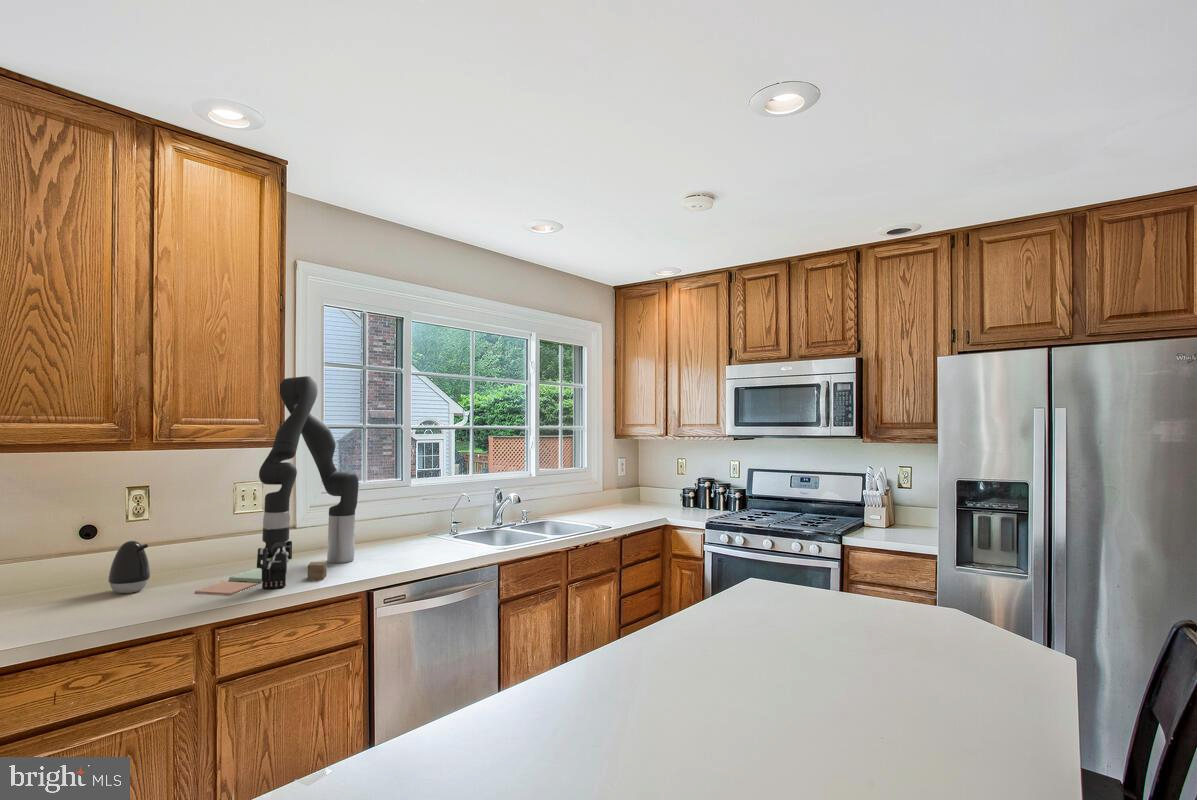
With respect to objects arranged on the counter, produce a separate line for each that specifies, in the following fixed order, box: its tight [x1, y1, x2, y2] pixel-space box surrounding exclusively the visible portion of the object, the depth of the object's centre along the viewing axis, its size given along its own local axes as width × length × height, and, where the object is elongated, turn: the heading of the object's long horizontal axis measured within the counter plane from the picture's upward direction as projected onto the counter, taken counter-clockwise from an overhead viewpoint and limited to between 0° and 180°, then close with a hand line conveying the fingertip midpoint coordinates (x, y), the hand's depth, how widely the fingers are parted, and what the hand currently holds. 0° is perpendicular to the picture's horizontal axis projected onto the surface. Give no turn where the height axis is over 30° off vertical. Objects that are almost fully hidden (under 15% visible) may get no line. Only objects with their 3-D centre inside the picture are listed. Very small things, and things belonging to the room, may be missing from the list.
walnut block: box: [306, 561, 328, 581], centre depth 214 cm, size 5×5×5 cm
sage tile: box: [228, 568, 262, 583], centre depth 213 cm, size 12×12×1 cm
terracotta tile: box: [194, 580, 259, 596], centre depth 198 cm, size 12×12×1 cm
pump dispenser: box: [107, 540, 151, 594], centre depth 194 cm, size 10×10×15 cm
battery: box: [261, 551, 288, 590], centre depth 200 cm, size 7×4×11 cm, turn 114°
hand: (274, 577), depth 201 cm, fingers open, 8 cm apart
